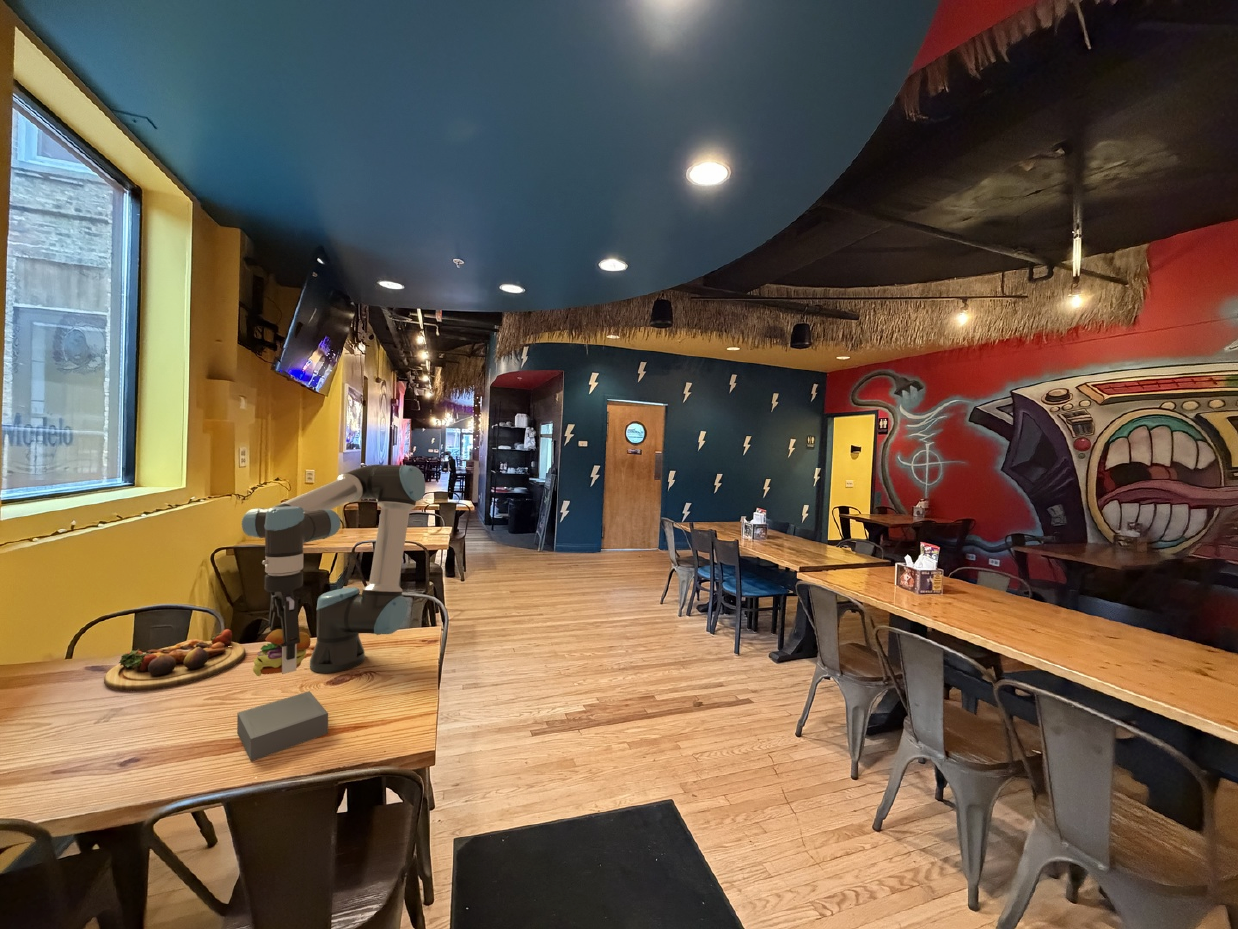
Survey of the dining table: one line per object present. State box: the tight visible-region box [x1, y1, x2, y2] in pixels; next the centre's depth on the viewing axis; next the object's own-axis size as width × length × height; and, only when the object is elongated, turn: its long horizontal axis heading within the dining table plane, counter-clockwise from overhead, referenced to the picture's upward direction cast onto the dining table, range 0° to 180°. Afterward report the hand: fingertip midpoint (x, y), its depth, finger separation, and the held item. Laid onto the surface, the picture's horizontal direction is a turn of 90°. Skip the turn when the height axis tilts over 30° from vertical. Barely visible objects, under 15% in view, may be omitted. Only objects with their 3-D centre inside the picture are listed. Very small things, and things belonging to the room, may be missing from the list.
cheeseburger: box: [252, 629, 312, 677], centre depth 116 cm, size 10×11×10 cm
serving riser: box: [236, 690, 329, 762], centre depth 116 cm, size 15×15×5 cm
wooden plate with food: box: [103, 628, 246, 692], centre depth 149 cm, size 32×32×8 cm
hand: (283, 664), depth 116 cm, fingers closed on cheeseburger, 10 cm apart
